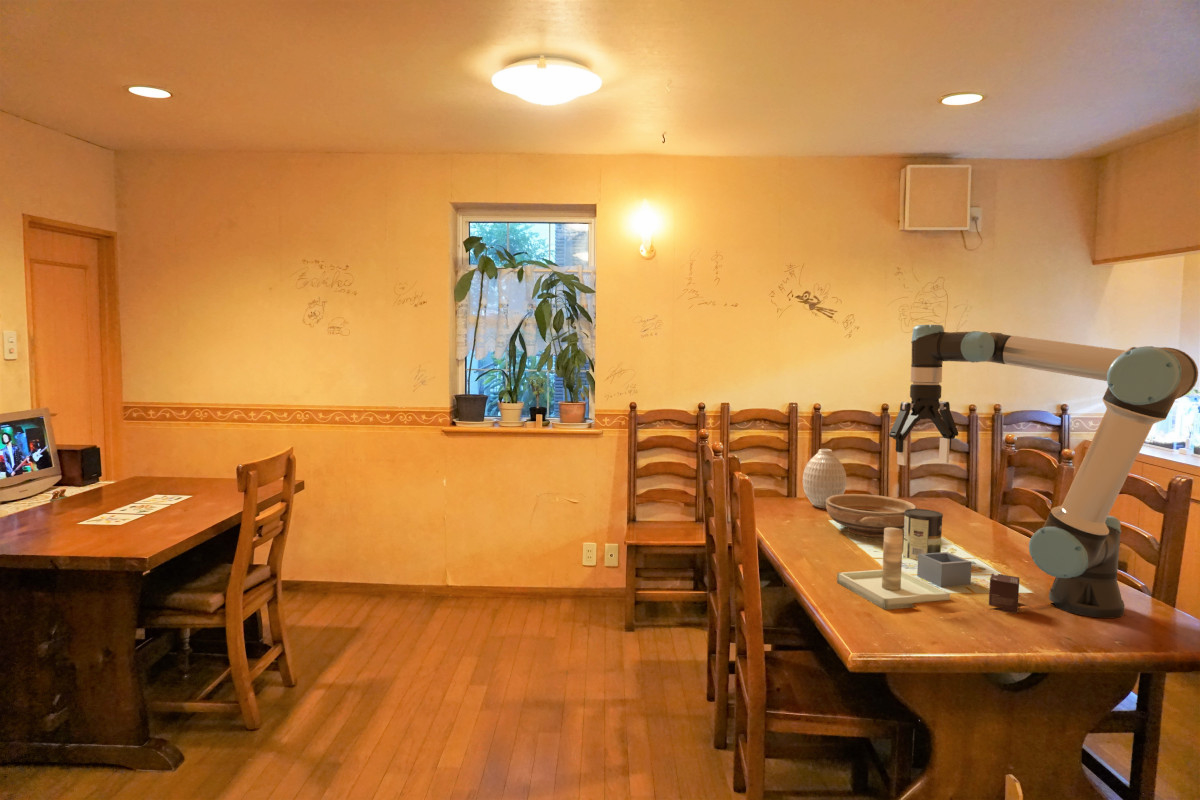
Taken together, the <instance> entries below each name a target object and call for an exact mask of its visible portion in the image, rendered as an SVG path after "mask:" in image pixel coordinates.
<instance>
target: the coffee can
mask: <svg viewBox="0 0 1200 800" xmlns="http://www.w3.org/2000/svg"><path fill="white" fill-rule="evenodd" d="M904 514H905V520H904V528H903V546H902V559H903V558H905V559H906V558H907V559H909V560H913V561H917V562H918V554H925V553H940V552H942V531H943V518H944V515H943V513H942V512H940V511H938V510H937V511H936V510H931V509H926V508H924V509H923V508H917V509H907V510H905V511H904Z"/></svg>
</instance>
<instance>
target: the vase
mask: <svg viewBox="0 0 1200 800" xmlns="http://www.w3.org/2000/svg"><path fill="white" fill-rule="evenodd" d="M802 487H803V490H804V494H805V496H806V497H807V499H808V500H809V502H810V503H811V504H812V505H813V506H814V507H815V508H819V509H827V508H826V499H827V498H828V497H831V496H835V495H843V494H845V492H846V487H847V472H846V470H845V467H844V465H843V463H842V462H841V460H839V458H838V457H837V456H836V455H835V454H834V453H833V450H832V449H829V448H820V449H818V451H817V452H816V453H815V455H813V456H812V457H811V458H810V459H809V461H807V463H806V465H805V467H804V470H803V474H802Z"/></svg>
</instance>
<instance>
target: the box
mask: <svg viewBox="0 0 1200 800" xmlns="http://www.w3.org/2000/svg"><path fill="white" fill-rule="evenodd" d="M1019 591H1020V576H1013V575H1012V576H1011V575H1005V574H1000V573H991V575H990V579H989V591H988V593H989V595H988V605H989V606H991V608H990V610H994V611H999V612H1005V613H1010V614H1018V611H1019V610H1018V609H1019V597H1020V593H1019ZM994 607H995V608H994Z"/></svg>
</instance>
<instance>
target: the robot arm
mask: <svg viewBox="0 0 1200 800" xmlns="http://www.w3.org/2000/svg"><path fill="white" fill-rule="evenodd" d="M944 362H956V363H957V362H960V363H962V362H963V363H981V362H982V363H984V362H985V363H987V362H988V363H995V364H1001V365H1009V366H1013V367H1014V366H1015V367H1021V368H1025V369H1026V368H1027V369H1033V370H1039V371H1045V372H1050V373H1056V374H1063V375H1068V376H1072V377H1073V376H1074V377H1079V378H1085V379H1092V380H1098V381H1103V382H1106V383H1107V388H1106V390H1105V392H1104V395H1103V397H1102V401H1103V403H1104V406H1105V407H1106V410H1105V412H1104V415H1103V417H1102V419H1101V421H1100V423H1099V425H1098V427H1097V429H1096V432H1095V433H1094V436H1093V438H1092V439H1091V441H1090V445H1089V446H1088V448H1087V451H1086V453H1085V455H1084V457H1083V460H1082V462H1081V463H1080V466H1079V468H1078V470H1077V472H1076V475H1075V477H1074V478H1073V481H1072V482H1071V485H1070V487H1069V489H1068V491H1067V493H1066V495H1065V498H1064V500H1063V502H1062V504H1061V505H1057V506H1055V507H1052V508H1051V510H1050V511H1049V513H1048V516H1047V519H1046V520H1045V523H1044V524H1043V526H1042V527H1041V528H1038V529H1037V530H1036V531H1035V532H1034V533H1033V534H1032V536H1031V537H1030V539H1029V543H1028V551H1029V556H1031V559H1032V561H1033V563H1034V564H1035V565H1036V567H1037V568H1038V569H1040V570H1041V571H1042V572H1044V573H1045V574H1047V575H1049V576H1051V577H1054V580H1053V582H1052V586H1051V587H1050V588H1049V591H1048V599H1049V600H1050V601H1051V602H1050V605H1052V606H1053V607H1055V608H1057V609H1060V610H1062V611H1065V612H1067V613H1072V614H1076V615H1080V616H1085V617H1089V618H1090V617H1091V618H1099V619H1101V618H1102V619H1115V618H1116V619H1117V618H1120V617H1122V616H1124V613H1125V603H1124V600H1123V599H1122V595H1121V590H1120V586H1119V583H1118V572H1119V571H1118V570H1119V559H1120V558H1119V556H1120V554H1119V553H1120V542H1121V534H1122V530H1121V521H1120V519H1119V518H1117V517H1115V516H1114V515H1109V514H1110V513H1111V510H1112V509H1113V507H1114V505H1115V502H1116V500H1117V498H1118V496H1119V494H1120V492H1121V490H1122V489H1123V486H1124V484H1125V482H1126V480H1127V478H1128V476H1129V474H1130V472H1131V470H1132V468H1133V466H1134V464H1135V462H1136V460H1137V458H1138V456H1139V453H1140V451H1141V450H1142V448H1143V446H1144V444H1145V441H1146V439H1147V437H1148V436H1149V433H1150V431H1151V429H1152V427H1153V425H1154V424H1158V423H1159V422H1161V421H1164V420H1166V419H1167V417H1168V415H1169V413H1170V411H1171V409H1172V408H1173V405H1174V403H1175V402H1176V400H1177V399H1180V398H1182V397H1184V396H1187V394H1189V392H1191V391H1192V390H1193V389H1194V387H1195V386H1196V384H1197V381H1198V378H1199V368H1198V366H1197V363H1196V362H1195V360H1194V359H1193V357H1191V356H1190V355H1189V354H1188V353H1186V352H1185V351H1182V350H1180V349H1177V348H1175V347H1158V346H1151V345H1150V346H1147V345H1145V346H1139V347H1136V346H1132V347H1129V348H1128V349H1126V350H1125V349H1116V348H1110V347H1103V346H1094V345H1087V344H1080V343H1071V342H1064V341H1057V340H1049V339H1042V338H1033V337H1027V336H1026V337H1025V336H1018V335H1009V334H1004V333H1001V332H987V331H979V330H977V331H974V330H973V331H953V332H952V331H951V332H948V331H945V329H944V326H943V325H942V324H918V325H915V326H913V328H912V336H911V364H910V365H911V366H910V382H911V383H912V384H911V385H909V386H910V387H909V388H910V389H909V397H910V398H911V402H909V401H908V402H905V401H902V402H901V403H900V405H899V406H900V407H899V410H898V414H897V415H896V418H895V420H894V423H893V425H892V427H891V429H890V432H889V434H888V436H889V437H890V438H892V439H893V440H895V452H896V453H897V456H896V464H897V465H900V466H907V460H908V459H907V458H908V440H906V439H907V436H908V435H909V434H910V433H911V431H912V430H913V429H914V427H915V425H916V424H917V423H918V422H919V421H921V420H926V419H927V420H930V421H931V422H933V425H934V426H935V428H936V429H937V430H938V432H939V433H940V434H941V436H942V437H939V451H938V453H939V454H938V455H939V456H938V462H939V463H942V464H950V451H951V450H952V440H955V438H956V437H958V436H959V432H958V428H957V426H956V423H955V420H954V417H953V415H952V413H951V409H950V408H951V406H950V402H949V401H941V400H940V399H941V398H942V388H943V387H942V386H941V384H940V383H942V382H943V363H944Z"/></svg>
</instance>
